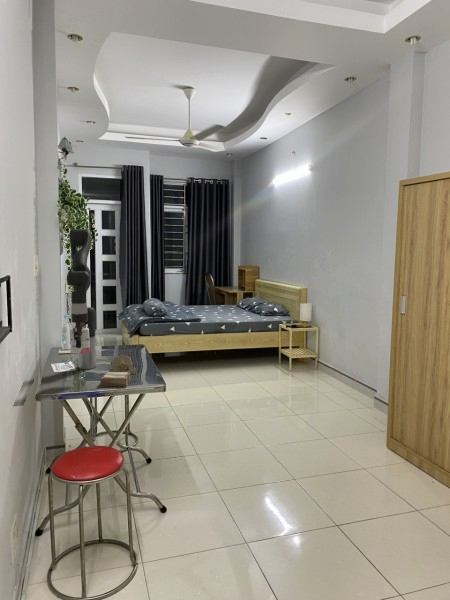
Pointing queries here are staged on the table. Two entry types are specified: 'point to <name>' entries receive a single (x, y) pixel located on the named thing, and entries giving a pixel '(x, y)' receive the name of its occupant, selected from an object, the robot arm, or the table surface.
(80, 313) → the robot arm
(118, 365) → the ceramic model
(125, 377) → the base
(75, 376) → the table surface
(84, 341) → the ink box
